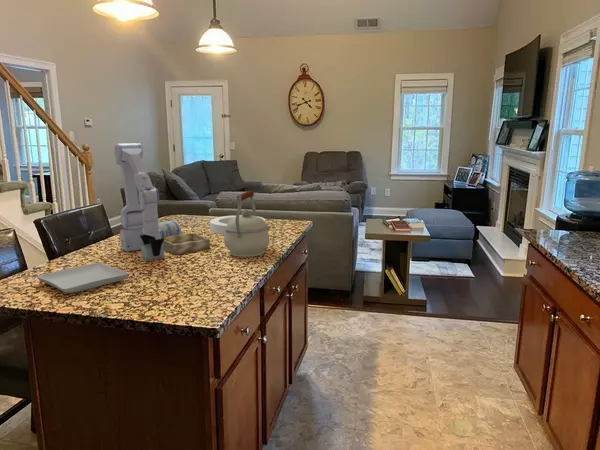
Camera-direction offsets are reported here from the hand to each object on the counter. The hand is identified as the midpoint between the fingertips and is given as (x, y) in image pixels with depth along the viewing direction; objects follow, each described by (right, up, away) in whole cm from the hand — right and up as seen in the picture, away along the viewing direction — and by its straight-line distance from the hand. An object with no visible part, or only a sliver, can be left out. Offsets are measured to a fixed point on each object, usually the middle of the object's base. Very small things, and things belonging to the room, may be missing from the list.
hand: (152, 253), depth 176 cm
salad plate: (-13, -8, -29) cm, 33 cm away
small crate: (0, -1, 0) cm, 1 cm away
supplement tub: (+2, +9, +27) cm, 29 cm away
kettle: (+37, 0, +8) cm, 38 cm away
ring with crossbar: (+26, +9, +53) cm, 60 cm away
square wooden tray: (+9, +2, +15) cm, 17 cm away
